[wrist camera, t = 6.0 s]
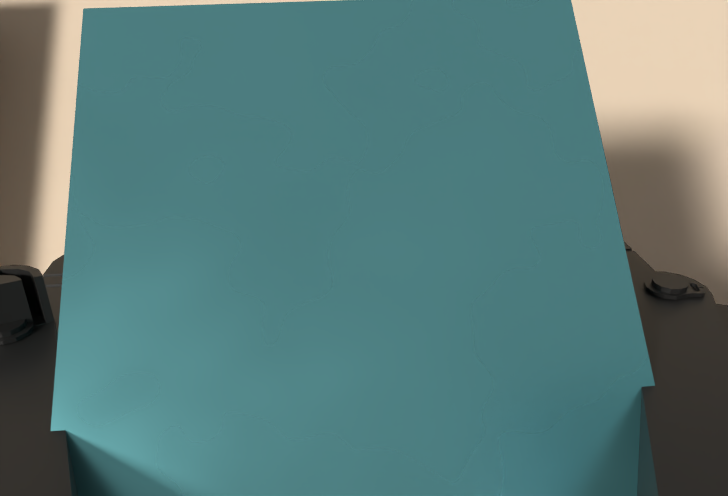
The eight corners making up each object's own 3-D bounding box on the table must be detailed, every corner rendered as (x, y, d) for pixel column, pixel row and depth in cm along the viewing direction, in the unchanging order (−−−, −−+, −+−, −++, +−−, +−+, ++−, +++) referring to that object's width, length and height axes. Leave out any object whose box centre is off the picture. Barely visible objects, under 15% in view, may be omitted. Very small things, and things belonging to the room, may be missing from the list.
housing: (447, 244, 20) (569, -7, 10) (477, 486, 18) (679, 499, 7) (215, 257, 20) (83, 8, 9) (216, 508, 17) (41, 553, 7)
